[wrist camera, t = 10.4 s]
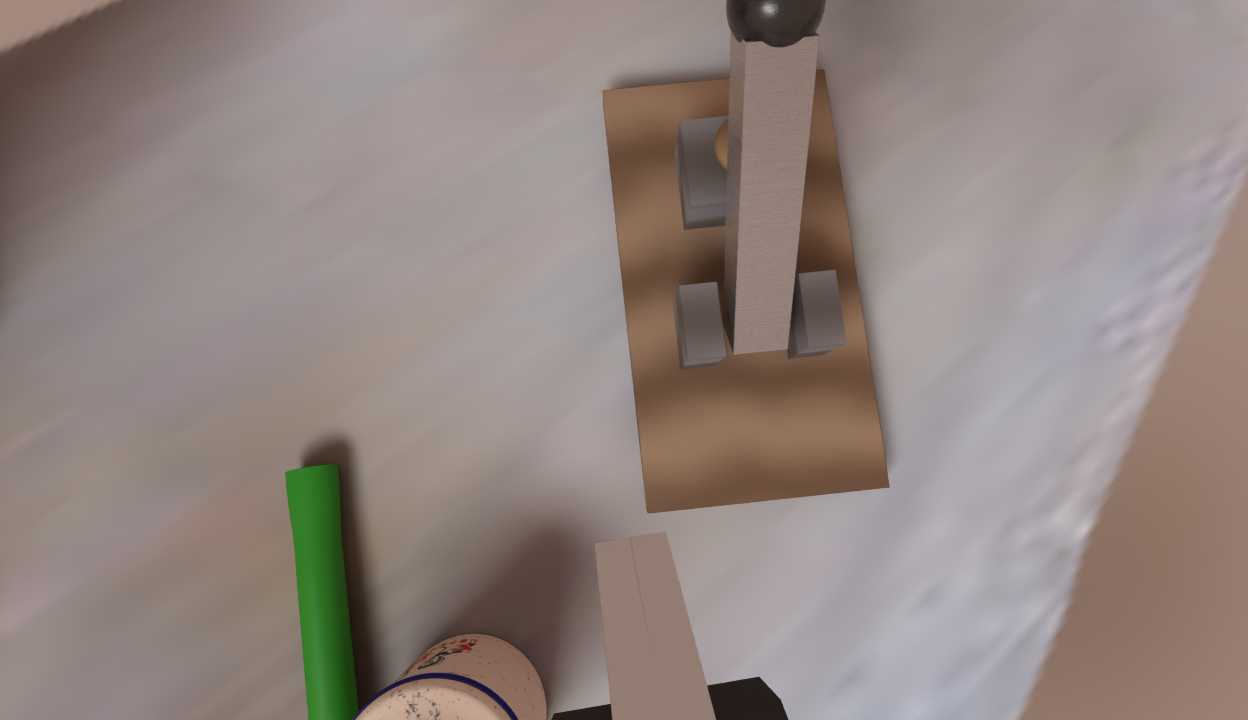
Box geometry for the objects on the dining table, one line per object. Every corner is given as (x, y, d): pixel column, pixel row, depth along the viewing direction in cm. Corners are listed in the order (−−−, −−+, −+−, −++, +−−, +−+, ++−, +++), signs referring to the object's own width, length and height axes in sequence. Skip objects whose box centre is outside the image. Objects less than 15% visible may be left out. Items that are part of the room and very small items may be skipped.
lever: (799, 353, 37) (845, -50, 25) (726, 361, 37) (739, -40, 25) (779, 312, 40) (813, -63, 28) (712, 319, 40) (718, -55, 28)
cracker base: (876, 485, 41) (949, 494, 32) (646, 510, 41) (654, 526, 32) (815, 86, 45) (865, -8, 36) (603, 106, 44) (599, 16, 35)
